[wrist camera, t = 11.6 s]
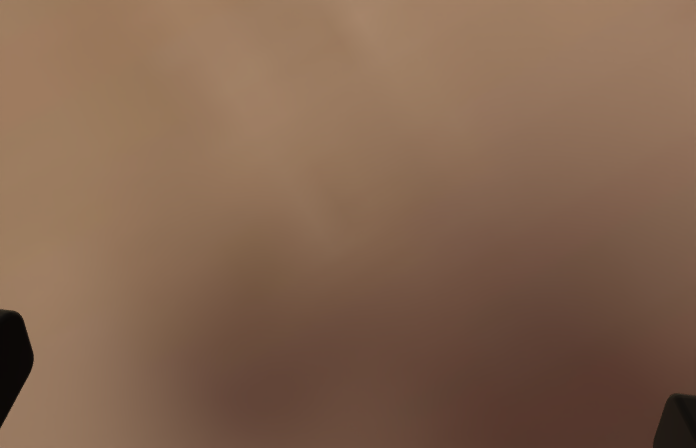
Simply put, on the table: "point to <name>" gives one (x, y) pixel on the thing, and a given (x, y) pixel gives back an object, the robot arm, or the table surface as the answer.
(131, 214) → the table surface
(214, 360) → the table surface
